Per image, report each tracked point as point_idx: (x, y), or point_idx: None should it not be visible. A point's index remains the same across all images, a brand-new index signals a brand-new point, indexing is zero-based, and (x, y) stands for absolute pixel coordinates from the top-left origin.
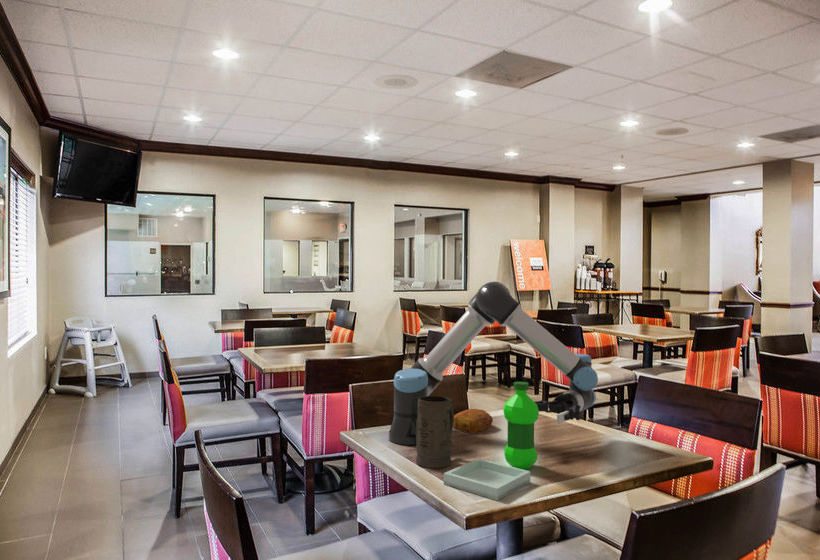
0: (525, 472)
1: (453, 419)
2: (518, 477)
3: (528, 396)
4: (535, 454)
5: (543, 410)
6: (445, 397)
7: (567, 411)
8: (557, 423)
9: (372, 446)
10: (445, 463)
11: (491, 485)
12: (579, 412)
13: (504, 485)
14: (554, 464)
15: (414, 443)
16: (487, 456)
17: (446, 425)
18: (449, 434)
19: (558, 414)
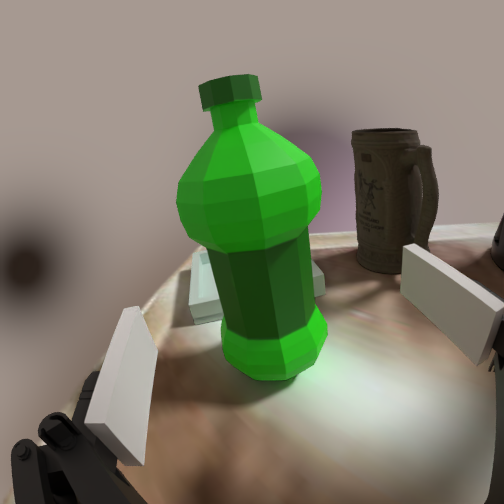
0: (193, 297)
1: (426, 199)
2: (191, 281)
3: (214, 139)
4: (222, 341)
5: (495, 474)
6: (395, 131)
7: (91, 403)
8: (155, 351)
9: (482, 228)
10: (359, 256)
11: (205, 252)
12: (13, 448)
13: (192, 261)
14: (220, 450)
15: (492, 254)
16: (399, 336)
17: (361, 185)
18: (376, 212)
19: (131, 310)
